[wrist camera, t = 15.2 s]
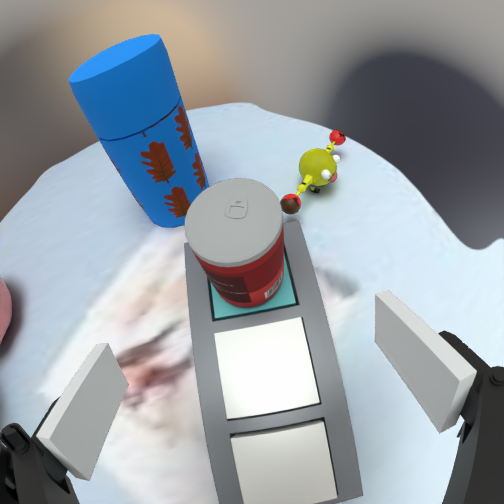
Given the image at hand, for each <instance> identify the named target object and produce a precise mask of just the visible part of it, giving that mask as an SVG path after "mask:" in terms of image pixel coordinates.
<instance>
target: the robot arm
mask: <svg viewBox="0 0 504 504" xmlns="http://www.w3.org/2000/svg"><path fill="white" fill-rule="evenodd" d="M375 343H376V344H377V345H378V347H379V348H380V349H381V351H382V352H383V353H384V355H385V356H386V357H387V359H388V360H389V362H390V363H391V364H392V366H393V367H394V368H395V370H396V371H397V373H398V374H399V375H400V377H401V378H402V380H403V381H404V382H405V384H406V385H407V387H408V388H409V390H410V391H411V392H412V394H413V395H414V397H415V398H416V400H417V401H418V402H419V404H420V405H421V407H422V408H423V410H424V411H425V413H426V414H427V416H428V417H429V419H430V420H431V422H432V423H433V425H434V426H435V428H436V429H437V431H438V432H439V433H441V432H443V431H445V430H447V429H449V428H450V427H452V426H454V425H456V423H457V420H458V418H459V416H460V415H461V416H462V417H463V419H464V420H465V421H464V423H463V425H462V427H461V429H460V431H459V433H458V435H457V437H460V441H459V446H458V451H457V455H456V459H455V463H454V467H453V471H452V474H451V478H450V481H449V484H448V488H447V491H446V494H445V497H444V500H443V502H442V504H504V367H500V366H496V367H492V368H491V367H489V366H488V365H487V364H486V363H485V362H484V361H483V360H482V359H481V358H480V357H479V356H478V355H477V354H476V353H474V352H473V351H472V350H471V349H470V348H468V346H467V345H466V344H465V343H462V341H461V340H460V339H459V338H458V337H457V336H456V335H454V334H452V333H449V332H447V331H442V332H440V333H437V332H436V331H435V330H433V329H432V328H431V327H430V326H429V325H428V324H427V323H426V322H425V321H424V320H423V319H421V318H420V317H419V316H418V315H417V314H416V313H415V312H414V311H412V310H411V309H410V308H409V307H408V306H407V305H406V304H405V303H403V302H402V301H401V300H400V299H399V298H398V297H396V296H395V295H394V294H393V293H392V292H391V291H389V290H388V291H385V292H381V293H378V294H375ZM128 385H129V384H128V382H127V380H126V378H125V376H124V374H123V372H122V371H121V369H120V367H119V365H118V363H117V361H116V359H115V357H114V355H113V353H112V351H111V348H110V346H109V344H108V343H104V344H96V345H95V347H94V348H93V349H92V351H91V352H90V354H89V355H88V356H87V358H86V359H85V361H84V362H83V364H82V365H81V367H80V368H79V369H78V371H77V372H76V374H75V375H74V377H73V378H72V380H71V381H70V383H69V384H68V386H67V387H66V389H65V390H64V392H63V393H62V395H61V396H60V397H59V398H58V399H57V400H55V401H54V402H53V403H52V405H51V406H50V408H49V410H48V412H47V413H46V414H45V416H44V417H45V418H43V419H42V421H41V422H40V424H39V426H38V427H37V429H36V430H35V432H34V434H33V435H32V437H31V438H30V437H29V435H28V434H27V433H26V432H25V431H24V429H23V428H22V427H21V426H20V425H19V424H17V423H12V424H9V425H7V426H6V427H5V428H4V429H3V430H2V432H1V433H0V440H1V441H2V442H3V443H4V444H5V445H6V446H7V448H6V447H5V446H4V445H3V444H2V443H1V442H0V504H79V501H78V499H77V496H76V494H75V491H74V489H73V486H72V484H71V481H70V479H69V477H68V476H67V475H66V473H67V471H69V472H70V473H71V474H73V475H74V476H75V477H76V478H79V479H83V480H87V481H90V479H91V476H92V473H93V471H94V468H95V465H96V463H97V460H98V457H99V455H100V452H101V450H102V447H103V445H104V442H105V440H106V437H107V435H108V432H109V430H110V427H111V425H112V422H113V420H114V418H115V415H116V413H117V410H118V408H119V406H120V403H121V401H122V399H123V397H124V394H125V392H126V390H127V387H128ZM460 435H461V436H460Z"/></svg>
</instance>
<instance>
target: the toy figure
mask: <svg viewBox="0 0 504 504" xmlns="http://www.w3.org/2000/svg"><path fill="white" fill-rule="evenodd" d="M329 139H330V141H331V143H332V144H331V145H328V146H327V147H326V150H323V149H311V150H309V151H307V152H306V153H305V154H304V155H303V156H302V157H301V159H300V162H299V171H300V174H301V176H302V178H303V179H304V181H303V182H302V184H300V185H299V186H298V188H297V189H298V192H297V193H296V195H295V194H287V195H285V196H284V197H283V198H282V200H281V201H280V205H281V209H282V211H283V212H285V213H287V214H295V213H297V212H298V210H299V209H300V206H301V201H300V198H299V197H298V195H299V194H300V193H304V192H305V191H306V188H307V187H308V186H309V185H310V184H311V187H310V190H311V191H312V192H316V193H319V191H320V189H316V188H315V186H323V185H326V184H328V183H329V182H334V181H335V180H336V178H337V173H336V170H337V165H336V164H338V163H339V162H340V157H339V156H338V155H333V156H332V155H331V154H330V153H331V152H332V151H333V150H334V147H333V145H341V144H343V143H344V142H345V140H346V137H345V134H344V133H343V132H342V131H339V130H334V131H332V132H331V134H330V136H329Z"/></svg>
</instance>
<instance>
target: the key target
mask: <svg viewBox="0 0 504 504" xmlns="http://www.w3.org/2000/svg"><path fill="white" fill-rule="evenodd" d="M211 289H212V297H213V305H214V313H215V319H216V320H217V321H220V320H226V319H232V318H237V317H243V316H248V315H254V314H259V313H264V312H269V311H274V310H279V309H284V308H289V307H293V306H295V305H296V302H295V297H294V293H293V289H292V285H291V281H290V277H289V273H288V269H287V264H286V260H285V256H284V275H283V280H282V283H281V285H280V287H279V289H278V291H277V292H276V293H275V294H274V296H273V297H271V298H270V299H269V300H268V301H266V302H265V303H263V304H261V305H258V306H255V307H238V306H235V305H232V304H230V303H228V302H226V301H225V300H224V299H223V298H222V297H220V295H219V294H218V292H217V291H216V289H215V288H214V286H213V285H212V283H211Z"/></svg>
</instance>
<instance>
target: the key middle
mask: <svg viewBox="0 0 504 504" xmlns="http://www.w3.org/2000/svg"><path fill="white" fill-rule="evenodd" d="M214 336H215V344H216V351H217V358H218V365H219V372H220V378H221V385H222V391H223V397H224V403H225V409H226V415H227V419H230V418H238V417H246V416H253V415H259V414H266V413H271V412H277V411H282V410H287V409H292V408H297V407H302V406H306V405H311V404H315V403H319V397H318V392H317V387H316V382H315V378H314V373H313V368H312V364H311V359H310V355H309V350H308V346H307V341H306V337H305V333H304V328H303V324H302V320H301V317H298V318H294V319H289V320H284V321H279V322H274V323H269V324H264V325H259V326H254V327H249V328H243V329H237V330H232V331H226V332H220V333H214Z"/></svg>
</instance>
